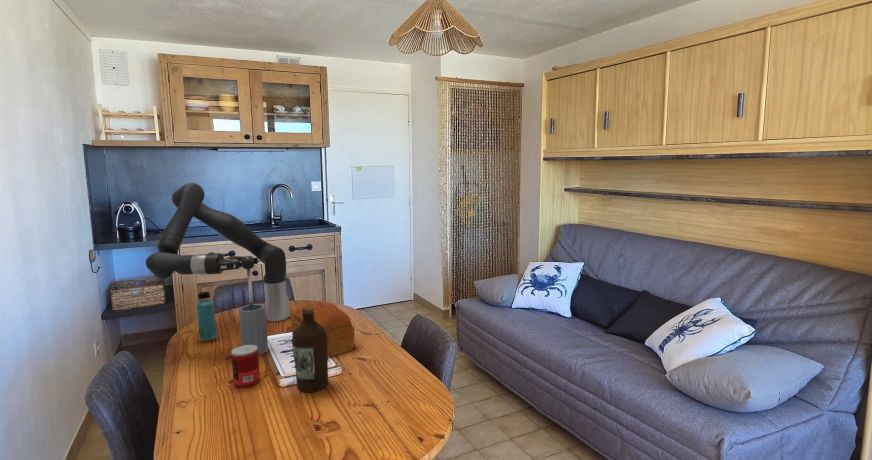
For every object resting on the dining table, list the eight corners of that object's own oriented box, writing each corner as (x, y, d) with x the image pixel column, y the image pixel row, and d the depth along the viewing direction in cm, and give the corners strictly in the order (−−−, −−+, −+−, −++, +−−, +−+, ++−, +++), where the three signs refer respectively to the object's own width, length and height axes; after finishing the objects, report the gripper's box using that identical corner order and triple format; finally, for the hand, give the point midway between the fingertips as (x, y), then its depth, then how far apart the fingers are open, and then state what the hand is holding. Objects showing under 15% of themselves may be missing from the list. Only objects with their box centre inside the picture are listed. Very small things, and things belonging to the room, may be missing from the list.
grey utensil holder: (261, 343, 185) (257, 301, 182) (276, 348, 179) (273, 305, 177) (236, 352, 177) (232, 308, 174) (251, 358, 171) (247, 313, 169)
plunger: (255, 317, 180) (250, 254, 176) (264, 319, 176) (259, 256, 173) (240, 321, 175) (235, 257, 171) (250, 324, 171) (244, 259, 168)
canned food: (265, 377, 155) (262, 345, 154) (248, 389, 148) (245, 355, 146) (246, 375, 158) (243, 343, 156) (228, 385, 150) (225, 352, 149)
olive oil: (307, 376, 156) (302, 302, 152) (336, 380, 152) (331, 304, 149) (288, 391, 146) (282, 312, 142) (318, 395, 142) (313, 315, 139)
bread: (318, 361, 167) (316, 318, 165) (289, 340, 188) (286, 301, 186) (359, 349, 177) (357, 308, 175) (326, 330, 198) (324, 293, 196)
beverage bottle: (220, 337, 192) (216, 290, 189) (211, 344, 186) (206, 294, 183) (205, 337, 193) (200, 289, 190) (196, 343, 186) (190, 294, 183)
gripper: (198, 257, 164) (248, 255, 165) (214, 250, 178) (261, 248, 179) (200, 278, 165) (250, 276, 166) (216, 269, 179) (262, 267, 180)
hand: (255, 262), depth 172 cm, fingers open, 4 cm apart
